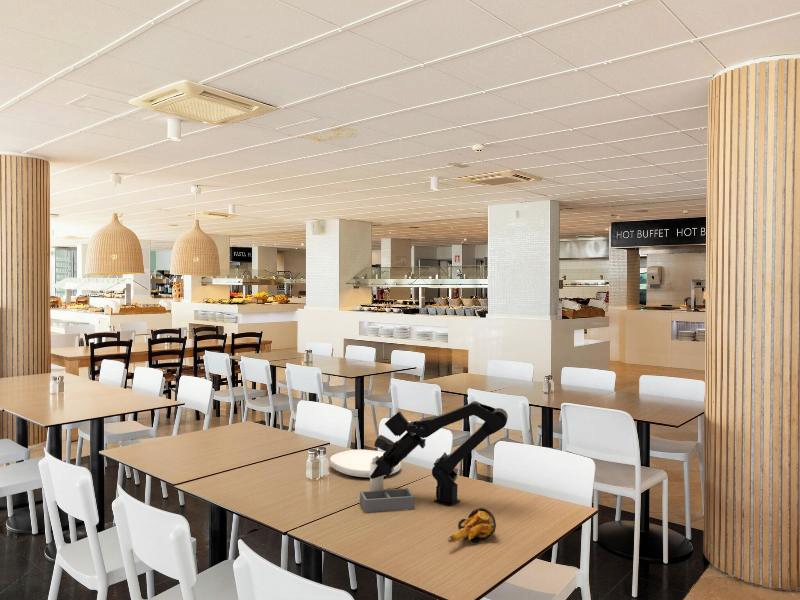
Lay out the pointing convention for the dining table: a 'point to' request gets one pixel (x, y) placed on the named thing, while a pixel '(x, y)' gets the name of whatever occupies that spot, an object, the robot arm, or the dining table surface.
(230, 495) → the dining table surface
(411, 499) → the condiment caddy
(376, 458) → the salt mill
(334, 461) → the plate
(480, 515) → the fried shrimp in bowl
